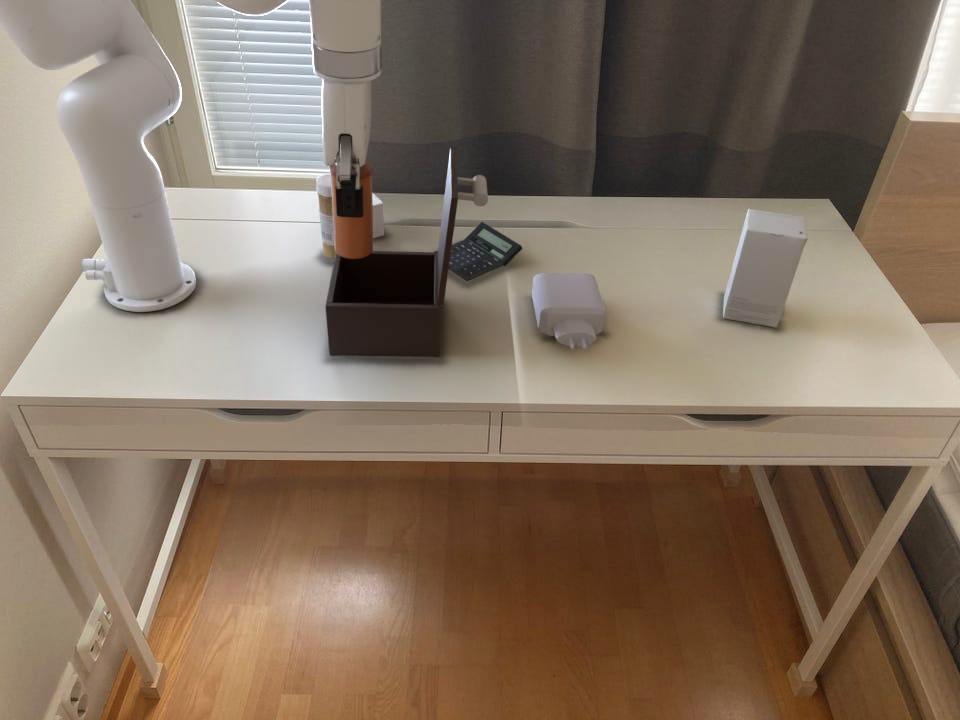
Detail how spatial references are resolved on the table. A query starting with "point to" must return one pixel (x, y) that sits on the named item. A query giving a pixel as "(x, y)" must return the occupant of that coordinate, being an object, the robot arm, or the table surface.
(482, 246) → the calculator
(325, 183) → the sprinkles bottle
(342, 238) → the tin
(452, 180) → the lid
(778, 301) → the cosmetic box
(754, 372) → the table surface
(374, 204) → the white cube
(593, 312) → the charger
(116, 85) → the robot arm
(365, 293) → the dark wooden planter box
